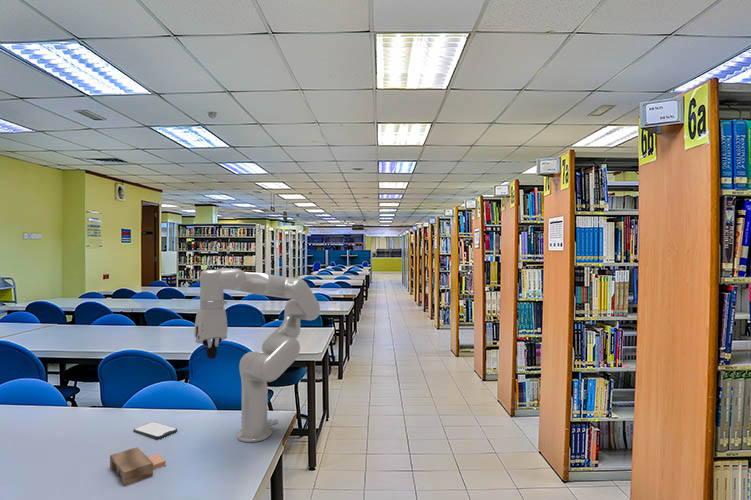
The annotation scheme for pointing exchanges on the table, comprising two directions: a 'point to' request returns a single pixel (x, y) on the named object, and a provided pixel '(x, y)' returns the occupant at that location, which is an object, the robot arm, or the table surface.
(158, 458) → the salmon pink flat block
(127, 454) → the wooden channel block
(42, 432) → the table surface
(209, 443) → the table surface
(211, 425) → the table surface
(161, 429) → the smartphone
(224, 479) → the table surface
